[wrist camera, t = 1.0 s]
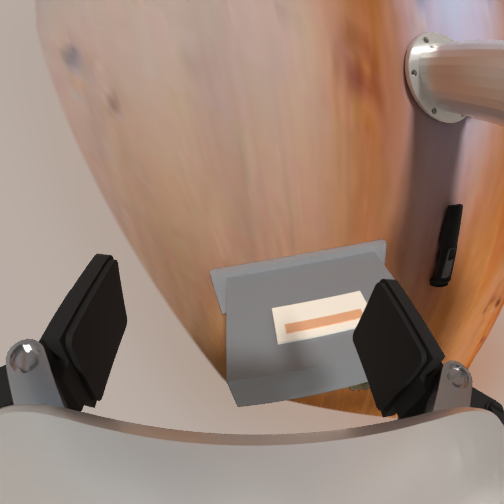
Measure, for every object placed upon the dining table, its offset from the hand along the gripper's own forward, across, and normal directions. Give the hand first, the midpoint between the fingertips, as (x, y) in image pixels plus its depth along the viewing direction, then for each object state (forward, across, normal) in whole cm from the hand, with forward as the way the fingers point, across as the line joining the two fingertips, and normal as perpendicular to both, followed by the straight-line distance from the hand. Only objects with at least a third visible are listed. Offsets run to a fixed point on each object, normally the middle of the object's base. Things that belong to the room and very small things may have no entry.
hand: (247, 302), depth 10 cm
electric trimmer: (+25, -33, +8) cm, 42 cm away
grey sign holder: (+24, -10, +15) cm, 30 cm away
